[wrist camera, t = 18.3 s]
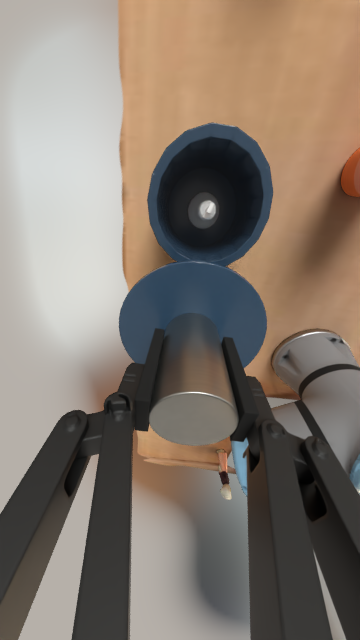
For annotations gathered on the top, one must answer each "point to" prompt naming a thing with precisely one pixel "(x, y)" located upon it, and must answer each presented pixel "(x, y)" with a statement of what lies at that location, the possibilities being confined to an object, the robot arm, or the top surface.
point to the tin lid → (193, 345)
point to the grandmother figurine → (224, 474)
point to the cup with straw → (352, 175)
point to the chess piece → (203, 210)
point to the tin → (217, 179)
